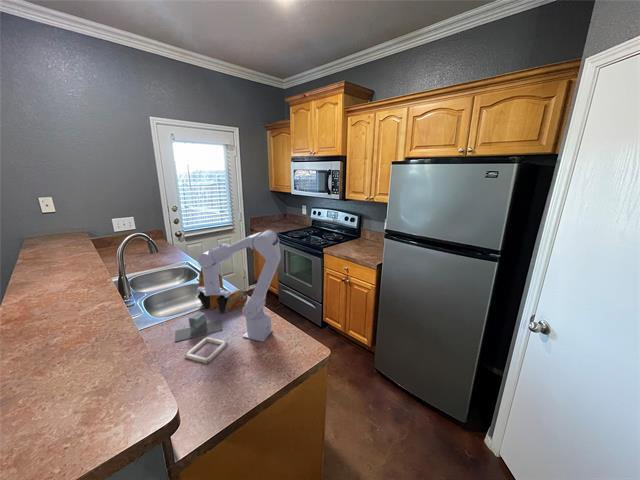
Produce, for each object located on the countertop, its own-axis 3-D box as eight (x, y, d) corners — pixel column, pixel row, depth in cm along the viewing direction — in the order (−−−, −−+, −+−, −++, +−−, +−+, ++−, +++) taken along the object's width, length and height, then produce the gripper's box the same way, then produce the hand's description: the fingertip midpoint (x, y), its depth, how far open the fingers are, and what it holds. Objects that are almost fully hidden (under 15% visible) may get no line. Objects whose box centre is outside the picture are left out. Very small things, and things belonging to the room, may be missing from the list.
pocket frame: (227, 344, 101) (227, 341, 101) (207, 363, 91) (207, 360, 91) (206, 339, 105) (206, 336, 104) (185, 357, 95) (184, 354, 94)
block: (207, 327, 111) (205, 313, 110) (198, 334, 107) (196, 319, 105) (199, 326, 113) (197, 311, 111) (190, 332, 108) (188, 317, 106)
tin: (219, 315, 121) (217, 299, 119) (216, 313, 124) (214, 297, 121) (248, 304, 132) (247, 289, 129) (245, 302, 134) (243, 287, 132)
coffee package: (217, 296, 140) (212, 257, 134) (227, 304, 132) (223, 263, 126) (198, 302, 133) (192, 262, 128) (207, 311, 125) (202, 268, 119)
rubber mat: (220, 320, 117) (220, 319, 117) (222, 330, 110) (222, 329, 110) (175, 331, 110) (175, 330, 109) (174, 342, 103) (174, 341, 103)
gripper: (189, 281, 103) (194, 312, 107) (219, 286, 99) (223, 318, 102) (202, 274, 109) (206, 303, 113) (231, 279, 105) (234, 309, 109)
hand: (215, 310), depth 108 cm, fingers open, 7 cm apart
